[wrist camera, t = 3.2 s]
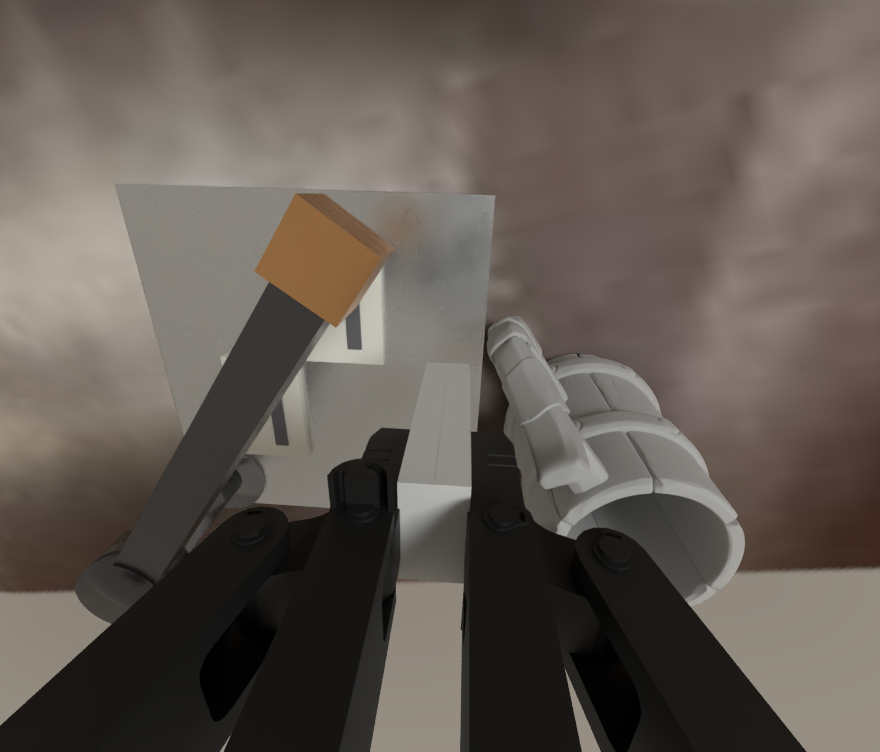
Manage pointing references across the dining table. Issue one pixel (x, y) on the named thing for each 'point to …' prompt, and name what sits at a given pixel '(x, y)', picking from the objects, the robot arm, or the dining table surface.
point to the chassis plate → (239, 288)
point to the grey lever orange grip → (243, 390)
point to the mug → (612, 461)
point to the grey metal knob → (233, 494)
